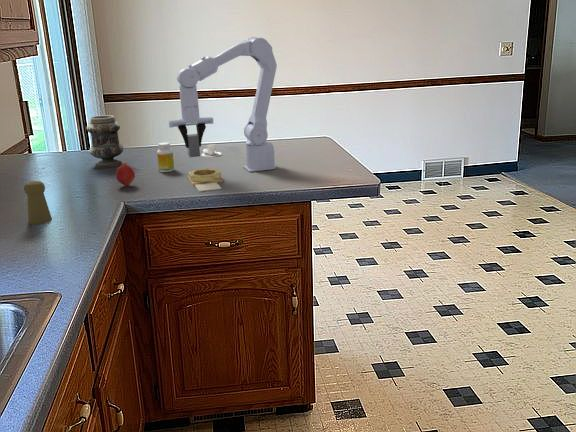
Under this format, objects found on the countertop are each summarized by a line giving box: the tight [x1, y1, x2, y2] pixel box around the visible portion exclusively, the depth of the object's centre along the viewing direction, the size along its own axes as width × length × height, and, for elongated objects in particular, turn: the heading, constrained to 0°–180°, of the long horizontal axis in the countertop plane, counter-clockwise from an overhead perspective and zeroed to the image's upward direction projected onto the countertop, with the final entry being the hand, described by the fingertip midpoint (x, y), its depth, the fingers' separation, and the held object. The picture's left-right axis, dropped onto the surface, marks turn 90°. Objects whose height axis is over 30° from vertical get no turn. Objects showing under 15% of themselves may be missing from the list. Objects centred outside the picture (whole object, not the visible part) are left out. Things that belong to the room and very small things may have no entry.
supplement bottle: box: [156, 141, 175, 173], centre depth 210 cm, size 5×5×10 cm
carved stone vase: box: [86, 114, 124, 169], centre depth 220 cm, size 12×12×18 cm
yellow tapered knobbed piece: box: [23, 180, 53, 226], centre depth 161 cm, size 6×6×11 cm
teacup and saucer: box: [200, 143, 223, 158], centre depth 233 cm, size 9×8×4 cm
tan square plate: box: [187, 175, 224, 186], centre depth 197 cm, size 10×10×1 cm
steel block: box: [187, 133, 201, 158], centre depth 201 cm, size 4×4×7 cm
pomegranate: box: [115, 161, 136, 187], centre depth 192 cm, size 6×6×8 cm
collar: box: [188, 168, 222, 182], centre depth 197 cm, size 10×10×2 cm
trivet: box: [194, 182, 222, 193], centre depth 188 cm, size 7×7×1 cm
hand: (193, 146), depth 200 cm, fingers closed on steel block, 3 cm apart
